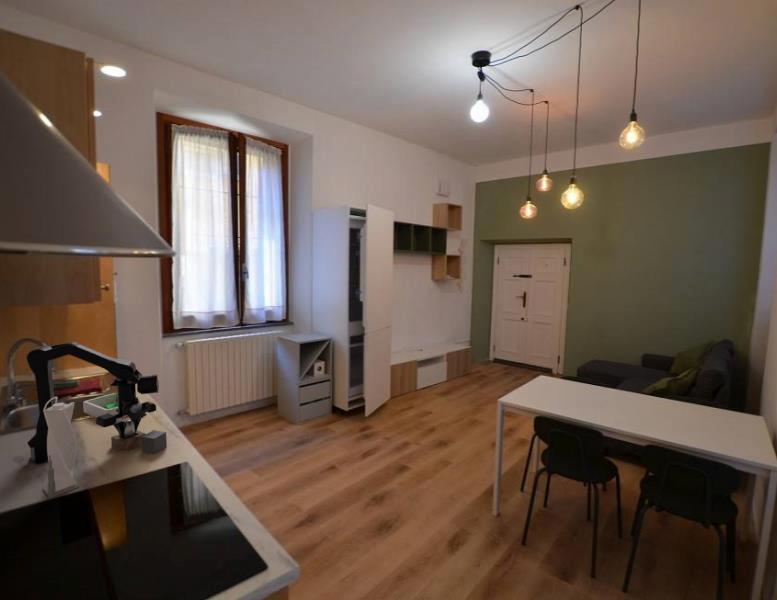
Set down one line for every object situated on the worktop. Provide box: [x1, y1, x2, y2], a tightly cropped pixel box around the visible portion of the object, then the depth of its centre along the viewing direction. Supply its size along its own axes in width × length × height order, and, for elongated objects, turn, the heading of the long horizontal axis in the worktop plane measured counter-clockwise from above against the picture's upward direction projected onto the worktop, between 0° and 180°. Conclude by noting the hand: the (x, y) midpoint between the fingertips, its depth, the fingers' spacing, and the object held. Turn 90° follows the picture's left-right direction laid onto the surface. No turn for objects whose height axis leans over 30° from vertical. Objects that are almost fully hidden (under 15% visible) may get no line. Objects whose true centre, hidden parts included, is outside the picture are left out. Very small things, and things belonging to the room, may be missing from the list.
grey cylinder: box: [122, 418, 135, 440], centre depth 146 cm, size 4×4×8 cm
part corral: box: [82, 392, 141, 417], centre depth 177 cm, size 14×20×5 cm
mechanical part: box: [105, 391, 118, 409], centre depth 177 cm, size 12×6×8 cm, turn 47°
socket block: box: [110, 429, 146, 453], centre depth 146 cm, size 8×8×4 cm
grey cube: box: [141, 430, 168, 455], centre depth 144 cm, size 6×6×6 cm
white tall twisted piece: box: [43, 396, 80, 499], centre depth 118 cm, size 8×8×28 cm
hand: (128, 435), depth 146 cm, fingers closed on grey cylinder, 4 cm apart
